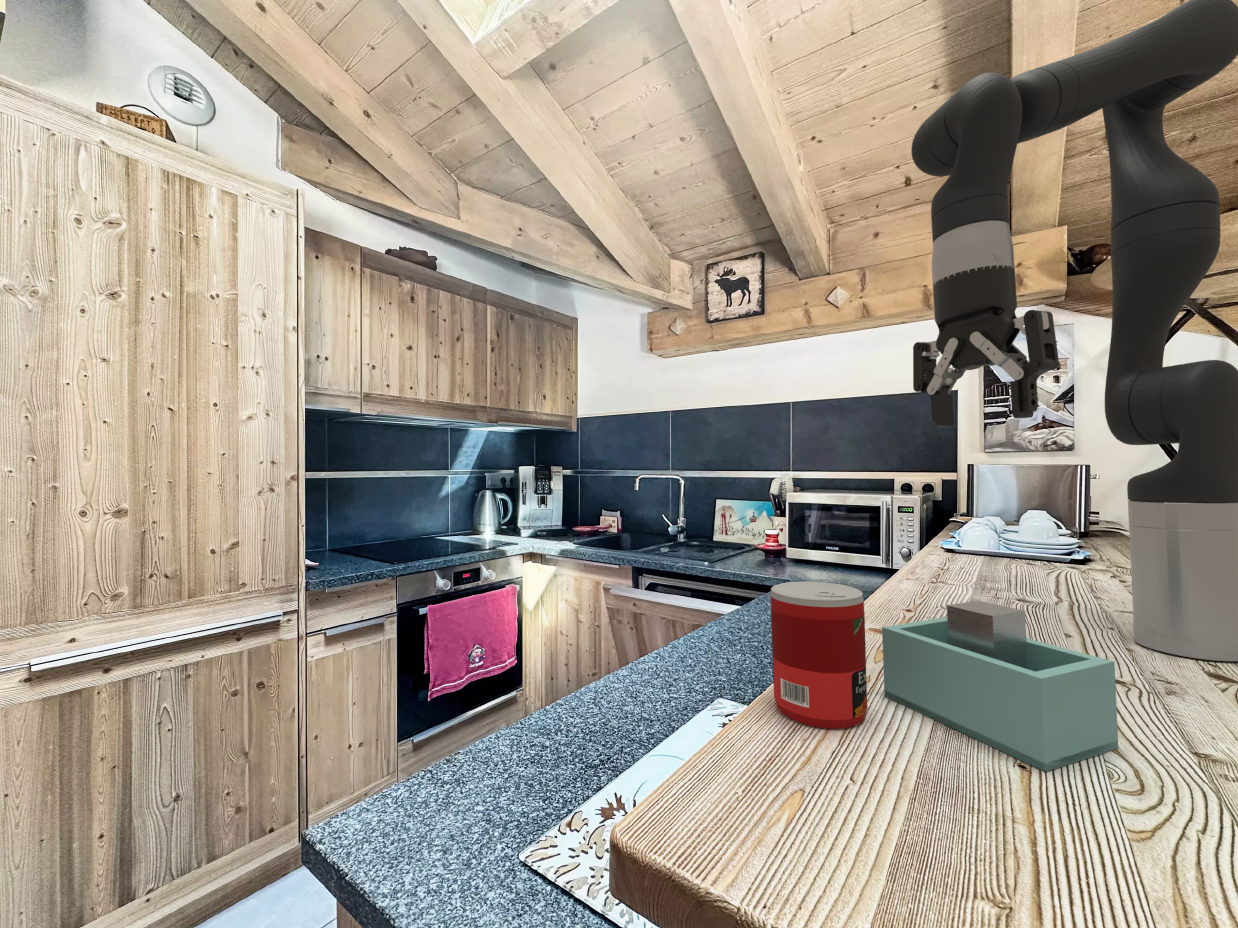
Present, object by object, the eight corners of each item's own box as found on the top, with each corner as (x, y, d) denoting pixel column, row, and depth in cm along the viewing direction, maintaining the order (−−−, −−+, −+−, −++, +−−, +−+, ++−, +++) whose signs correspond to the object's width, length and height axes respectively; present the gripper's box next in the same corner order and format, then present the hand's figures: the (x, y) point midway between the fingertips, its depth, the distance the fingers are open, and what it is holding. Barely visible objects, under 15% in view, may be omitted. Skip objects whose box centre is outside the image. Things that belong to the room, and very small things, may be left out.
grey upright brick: (981, 699, 48) (977, 600, 48) (1029, 718, 44) (1024, 610, 44) (950, 707, 46) (946, 605, 47) (997, 727, 43) (992, 616, 43)
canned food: (878, 734, 43) (873, 600, 43) (778, 727, 45) (774, 598, 45) (856, 695, 51) (852, 581, 51) (770, 690, 52) (767, 580, 53)
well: (948, 682, 53) (945, 616, 53) (1118, 748, 40) (1114, 661, 40) (884, 695, 50) (882, 627, 51) (1045, 771, 37) (1041, 678, 37)
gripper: (1068, 253, 52) (1078, 414, 52) (937, 299, 66) (944, 428, 65) (1018, 245, 50) (1029, 415, 49) (892, 295, 63) (900, 429, 63)
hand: (981, 422), depth 57 cm, fingers open, 8 cm apart
